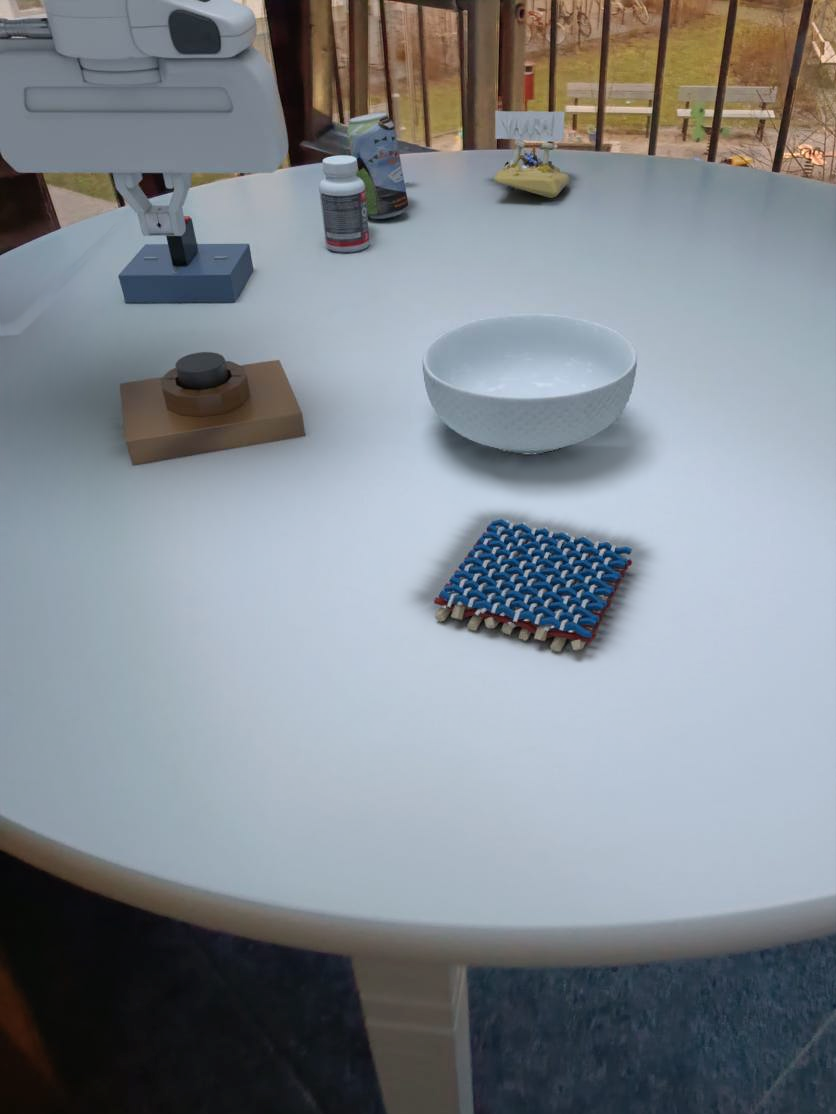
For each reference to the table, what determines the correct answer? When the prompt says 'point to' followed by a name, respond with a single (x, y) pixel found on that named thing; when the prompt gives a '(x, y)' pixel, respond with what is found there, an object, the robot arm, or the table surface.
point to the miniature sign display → (524, 168)
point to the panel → (187, 275)
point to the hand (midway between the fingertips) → (165, 233)
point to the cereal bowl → (529, 380)
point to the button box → (209, 413)
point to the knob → (183, 245)
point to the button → (202, 371)
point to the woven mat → (535, 583)
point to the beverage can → (378, 164)
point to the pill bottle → (343, 205)
